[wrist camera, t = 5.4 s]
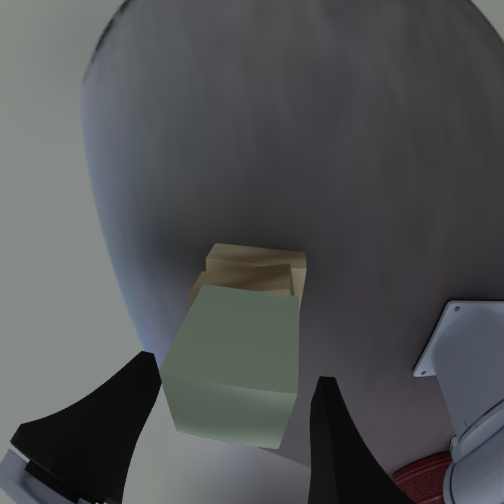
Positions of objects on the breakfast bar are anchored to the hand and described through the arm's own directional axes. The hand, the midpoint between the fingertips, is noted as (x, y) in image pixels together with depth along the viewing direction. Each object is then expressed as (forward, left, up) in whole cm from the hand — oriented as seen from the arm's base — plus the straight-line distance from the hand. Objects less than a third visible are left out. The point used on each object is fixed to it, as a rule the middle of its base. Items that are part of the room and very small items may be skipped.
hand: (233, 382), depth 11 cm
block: (0, 0, -3) cm, 3 cm away
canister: (-32, +37, -8) cm, 50 cm away
